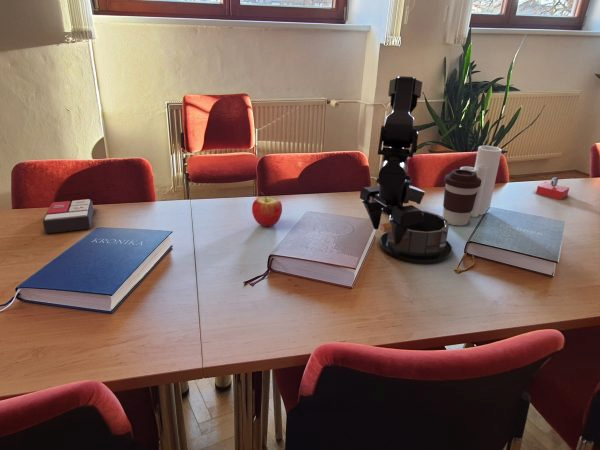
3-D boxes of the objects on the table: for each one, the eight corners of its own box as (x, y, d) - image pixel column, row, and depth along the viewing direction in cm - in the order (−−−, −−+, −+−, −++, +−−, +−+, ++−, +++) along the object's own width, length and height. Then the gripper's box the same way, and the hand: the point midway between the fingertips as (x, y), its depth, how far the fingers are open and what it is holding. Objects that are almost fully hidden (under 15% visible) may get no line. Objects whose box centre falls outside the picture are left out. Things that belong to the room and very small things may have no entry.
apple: (249, 220, 128) (248, 187, 124) (277, 217, 131) (277, 185, 127) (255, 231, 121) (255, 197, 117) (285, 228, 123) (286, 194, 119)
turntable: (366, 238, 119) (367, 234, 118) (421, 228, 126) (422, 224, 125) (406, 269, 104) (407, 265, 103) (466, 257, 110) (467, 252, 110)
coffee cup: (475, 229, 126) (485, 179, 120) (439, 226, 128) (447, 176, 121) (470, 216, 135) (479, 169, 129) (436, 213, 136) (444, 166, 130)
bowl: (394, 261, 105) (397, 237, 102) (367, 236, 117) (369, 214, 115) (456, 252, 110) (460, 228, 108) (423, 229, 123) (427, 207, 120)
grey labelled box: (91, 197, 131) (87, 213, 118) (94, 211, 133) (90, 228, 120) (50, 201, 128) (41, 218, 115) (53, 215, 129) (45, 233, 116)
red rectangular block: (535, 193, 156) (540, 176, 153) (543, 189, 160) (547, 172, 157) (560, 199, 150) (565, 182, 148) (567, 195, 154) (572, 178, 152)
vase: (478, 205, 143) (490, 145, 135) (494, 214, 137) (508, 150, 129) (449, 209, 139) (460, 147, 131) (464, 218, 133) (477, 153, 125)
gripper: (447, 184, 98) (436, 247, 104) (398, 162, 114) (392, 218, 120) (405, 190, 94) (397, 255, 100) (361, 166, 110) (356, 223, 116)
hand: (386, 236), depth 109 cm, fingers open, 9 cm apart
